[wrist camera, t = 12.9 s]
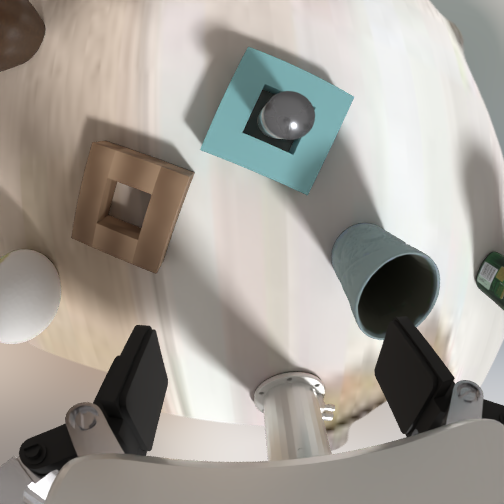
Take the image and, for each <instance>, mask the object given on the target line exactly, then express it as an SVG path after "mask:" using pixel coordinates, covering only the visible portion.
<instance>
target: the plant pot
mask: <svg viewBox="0 0 504 504" xmlns="http://www.w3.org/2000/svg"><path fill="white" fill-rule="evenodd" d="M44 34H45V25H44V23H43V21H42V19H41V18H40V16H39V14H38V13H37V11H36V10H35V8H34V7H33V6H32V4H31V3H30V2H29V1H28V0H0V72H1V71H4V70H7V69H10V68H13V67H15V66H18V65H21V64H23V63H25V62H27V61H28V60H29V59H30V58H32V56H33V55H34V54H35V53H36V52H37V50H38V48H39V47H40V45H41V43H42V41H43V38H44Z"/></svg>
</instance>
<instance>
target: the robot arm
mask: <svg viewBox="0 0 504 504" xmlns="http://www.w3.org/2000/svg"><path fill="white" fill-rule="evenodd" d="M375 377H376V379H377V381H378V383H379V385H380V387H381V389H382V391H383V393H384V395H385V397H386V400H387V402H388V404H389V406H390V408H391V410H392V412H393V414H394V417H395V419H396V421H397V423H398V425H399V428H400V430H401V432H402V433H403V434H406V436H407V437H406V438H403V439H399V440H396V441H392V442H388V443H385V444H381V445H377V446H372V447H368V448H364V449H359V450H354V451H348V452H343V453H337V454H332V453H331V449H330V445H329V440H328V436H327V432H326V428H325V424H324V420H327V421H331V420H332V418H333V411H334V410H335V405H333V404H325V403H324V401H323V398H324V395H325V388H324V385H323V382H322V381H321V380H320V379H319V378H318V377H316V376H314V375H312V374H309V373H304V372H289V373H283V374H279V375H276V376H274V377H271V378H269V379H267V380H266V381H264V382H263V383H262V384H260V385H259V387H258V388H257V389H256V391H255V393H254V403H255V406H256V407H257V409H258V410H259V411H261V412H262V413H264V419H265V431H266V444H267V456H268V461H262V462H261V461H260V462H212V461H194V460H180V459H169V458H160V457H151V456H146V453H147V451H151V449H152V446H153V441H154V437H155V433H156V429H157V424H158V421H159V417H160V413H161V409H162V405H163V401H164V397H165V393H166V390H167V385H168V378H167V374H166V370H165V367H164V363H163V359H162V355H161V351H160V346H159V342H158V338H157V333H156V331H155V330H152V328H151V326H144V325H136V326H135V327H134V329H133V331H132V333H131V335H130V337H129V339H128V341H127V343H126V345H125V347H124V349H123V351H122V353H121V355H120V356H117V357H116V358H115V359H114V361H113V363H112V365H111V367H110V369H109V371H108V373H107V375H106V377H105V379H104V381H103V383H102V385H101V387H100V390H99V392H98V394H97V396H96V398H95V400H94V402H93V403H89V402H83V403H79V404H76V405H74V406H73V407H72V408H70V409H69V411H68V412H67V414H66V418H65V422H66V424H63V425H61V426H59V427H56V428H54V429H52V430H49V431H47V432H44V433H42V434H39V435H37V436H34V437H32V438H30V439H27V440H26V441H25V442H24V443H23V444H22V445H21V447H20V451H19V457H18V458H16V457H15V456H14V457H12V458H11V459H9V460H8V461H7V462H6V463H4V464H3V465H1V466H0V504H504V406H503V405H500V404H497V403H493V402H491V401H487V400H484V399H483V392H482V390H481V388H480V387H479V386H478V385H477V384H476V383H474V382H472V381H468V380H462V381H459V382H457V383H456V384H455V383H454V381H453V380H454V377H453V375H452V374H451V372H450V371H449V370H448V368H447V367H446V366H445V364H444V363H443V362H442V360H441V359H440V358H439V356H438V355H437V354H436V352H435V351H434V350H433V348H432V347H431V346H430V344H429V343H428V342H427V341H426V339H425V338H424V337H423V335H422V334H421V333H420V332H419V330H418V329H417V328H416V327H415V325H414V324H413V323H412V322H411V320H410V319H409V318H408V317H407V316H403V317H395V318H393V320H392V321H391V322H389V324H388V328H387V331H386V335H385V338H384V342H383V345H382V348H381V351H380V355H379V358H378V361H377V364H376V367H375ZM324 410H326V411H324ZM331 411H332V412H331Z"/></svg>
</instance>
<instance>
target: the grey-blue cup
mask: <svg viewBox="0 0 504 504" xmlns="http://www.w3.org/2000/svg"><path fill="white" fill-rule="evenodd" d="M332 265H333V268H334V270H335V273H336V275H337V277H338V279H339V280H340V282H341V284H342V287H343V290H344V292H345V294H346V296H347V298H348V300H349V303H350V306H351V310H352V312H353V315H354V317H355V320H356V322H357V324H358V326H359V328H360V329H361V330H362V331H363V333H364V334H366V335H367V336H369V337H371V338H373V339H378V340H384V338H385V335H386V331H387V328H388V324H389V322H391V321H392V320H393V318H395V317H403V316H407V317H408V318H409V319H410V320H411V322H412V323H413V324H414V325H415V327H417V326H418V325H420V324H421V323H422V322H423V321H424V320H425V319H426V317H427V316H428V315H429V313H430V312H431V310H432V308H433V307H434V305H435V303H436V300H437V297H438V295H439V288H440V274H439V270H438V268H437V266H436V264H435V263H434V261H433V260H432V259H431V258H430V257H429V256H428V255H426V254H425V253H423V252H421V251H419V250H417V249H416V248H414V247H411V246H410V245H407V244H406V243H405V242H404V241H402V240H401V239H399V238H397V237H396V236H394V235H391V234H390V233H389V232H387V231H385V230H384V229H382V228H380V227H379V226H377V225H374V224H370V223H360V224H356V225H353V226H351V227H349V228H348V229H346V230H345V231H344V232H343V233H342V234H341V235H340V236H339V237H338V238H337V240H336V242H335V244H334V246H333V250H332Z"/></svg>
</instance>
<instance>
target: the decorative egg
mask: <svg viewBox="0 0 504 504" xmlns="http://www.w3.org/2000/svg"><path fill="white" fill-rule="evenodd" d="M60 299H61V283H60V278H59V275H58V272H57V270H56V268H55V267H54V265H53V264H52V262H51V261H50V260H49V259H48V258H47V257H46V256H44V255H43V254H41V253H39V252H37V251H34V250H29V249H21V250H16V251H12V252H10V253H8V254H6V255H4V256H3V257H1V258H0V342H1V343H7V344H16V343H22V342H25V341H28V340H30V339H32V338H34V337H36V336H37V335H39V334H40V333H41V332H42V331H43V330H44V329H46V328H47V326H48V325H49V324H50V323H51V321H52V320H53V318H54V317H55V315H56V313H57V310H58V307H59V304H60Z"/></svg>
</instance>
